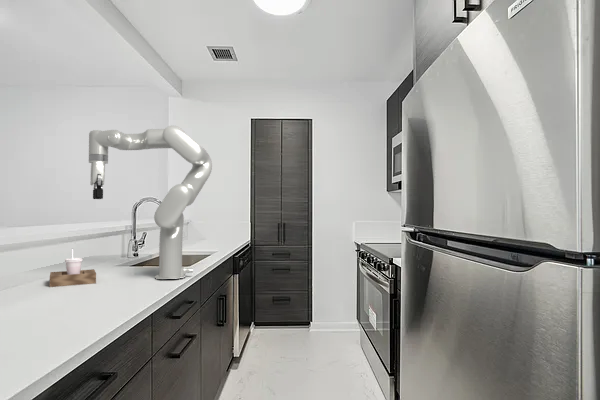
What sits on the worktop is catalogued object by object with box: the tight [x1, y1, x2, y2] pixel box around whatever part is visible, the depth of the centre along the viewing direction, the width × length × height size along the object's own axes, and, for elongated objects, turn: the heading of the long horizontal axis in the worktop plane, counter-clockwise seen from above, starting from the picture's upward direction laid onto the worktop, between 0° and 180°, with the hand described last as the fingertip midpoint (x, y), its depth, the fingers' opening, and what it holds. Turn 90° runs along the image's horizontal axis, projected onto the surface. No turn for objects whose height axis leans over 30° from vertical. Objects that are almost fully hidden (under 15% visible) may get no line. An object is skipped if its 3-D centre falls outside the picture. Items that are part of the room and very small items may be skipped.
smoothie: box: [64, 248, 84, 275], centre depth 166 cm, size 6×6×14 cm
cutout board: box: [49, 268, 97, 288], centre depth 166 cm, size 16×12×4 cm
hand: (97, 198), depth 176 cm, fingers open, 9 cm apart
